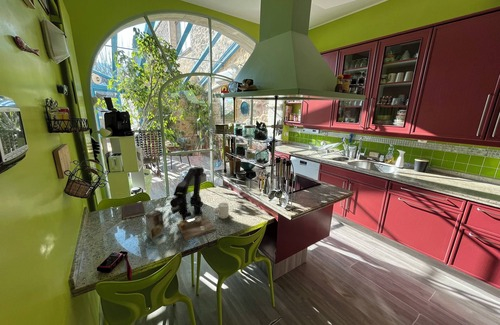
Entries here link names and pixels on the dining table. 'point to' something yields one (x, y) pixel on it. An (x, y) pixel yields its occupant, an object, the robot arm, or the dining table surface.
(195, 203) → the robot arm
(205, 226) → the lock base
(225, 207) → the mug
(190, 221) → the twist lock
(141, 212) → the hardcover book
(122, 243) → the dining table surface
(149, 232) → the coffee box
